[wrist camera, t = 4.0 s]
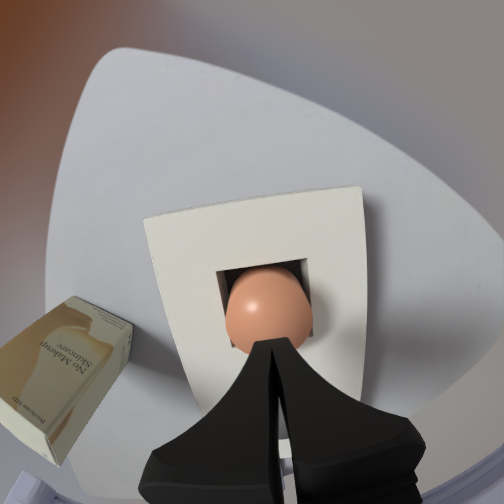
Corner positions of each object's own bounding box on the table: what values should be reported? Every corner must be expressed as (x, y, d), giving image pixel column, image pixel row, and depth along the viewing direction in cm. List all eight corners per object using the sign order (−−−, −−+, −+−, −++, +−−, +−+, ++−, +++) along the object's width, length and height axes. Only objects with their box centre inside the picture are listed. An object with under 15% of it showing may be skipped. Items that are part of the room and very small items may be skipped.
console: (345, 423, 22) (353, 444, 19) (225, 439, 22) (223, 462, 19) (343, 185, 17) (361, 186, 14) (160, 213, 17) (143, 219, 14)
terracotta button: (305, 325, 17) (314, 351, 14) (236, 335, 17) (234, 362, 14) (299, 259, 16) (309, 275, 13) (223, 270, 16) (217, 289, 13)
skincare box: (135, 323, 19) (51, 438, 7) (129, 363, 20) (65, 472, 8) (69, 292, 18) (-32, 368, 7) (68, 333, 19) (-13, 414, 8)
